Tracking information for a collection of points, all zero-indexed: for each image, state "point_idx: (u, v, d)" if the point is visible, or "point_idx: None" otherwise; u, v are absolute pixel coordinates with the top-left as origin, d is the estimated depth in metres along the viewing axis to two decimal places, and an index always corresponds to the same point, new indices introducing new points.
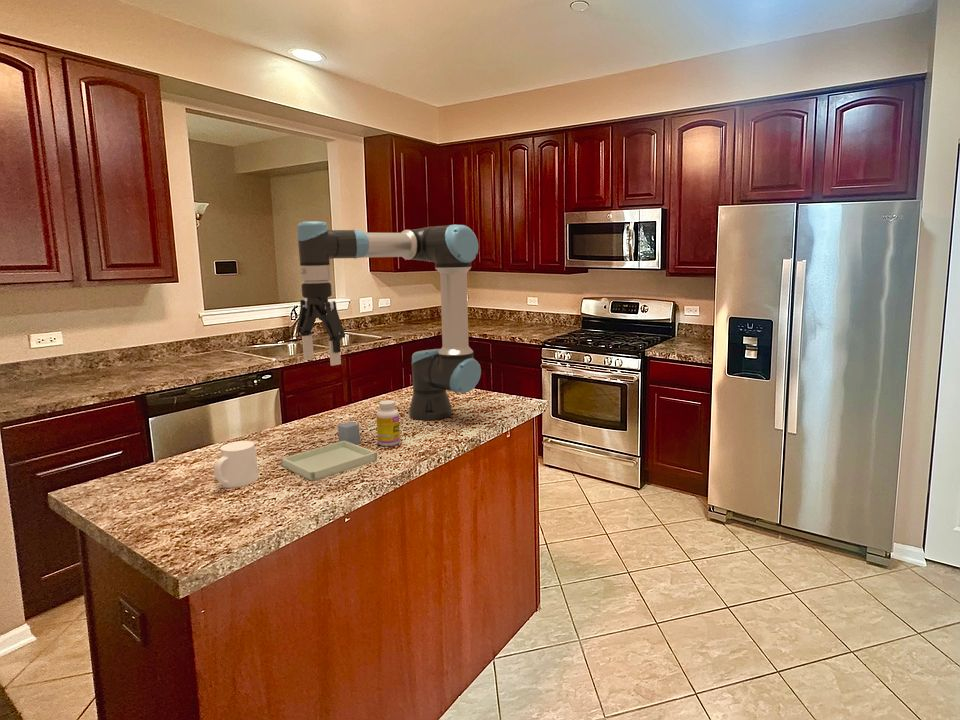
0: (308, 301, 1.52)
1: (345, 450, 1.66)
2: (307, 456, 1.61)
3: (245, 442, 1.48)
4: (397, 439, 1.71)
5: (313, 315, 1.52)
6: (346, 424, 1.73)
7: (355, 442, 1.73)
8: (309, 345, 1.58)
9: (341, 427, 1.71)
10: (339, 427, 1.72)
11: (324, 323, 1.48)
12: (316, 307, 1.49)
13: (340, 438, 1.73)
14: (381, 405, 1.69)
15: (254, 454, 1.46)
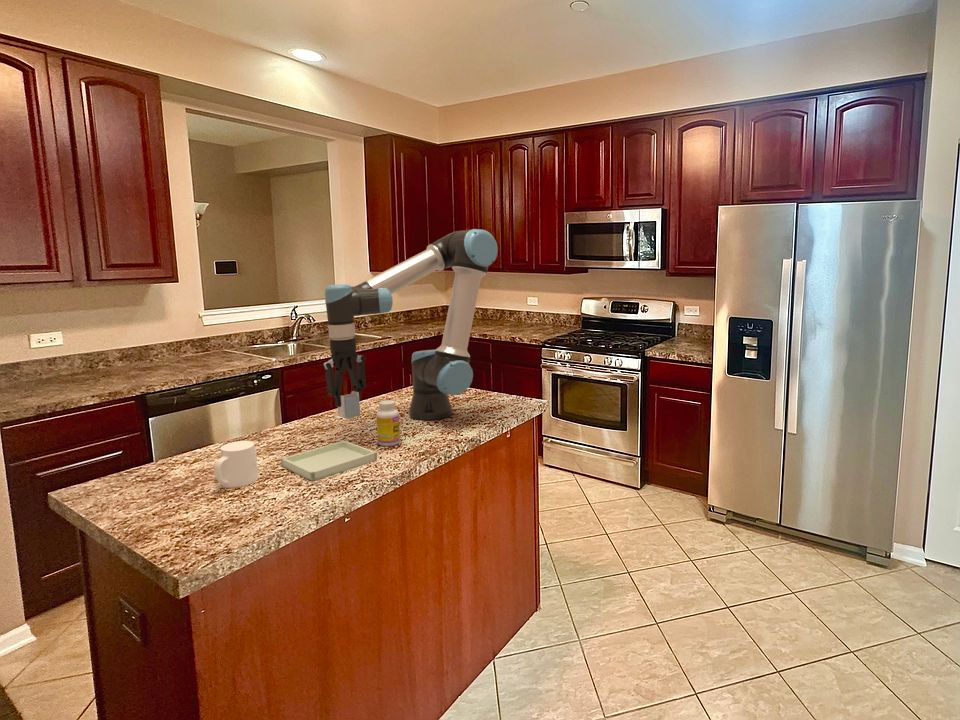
0: None
1: (345, 450, 1.66)
2: (307, 456, 1.61)
3: (245, 442, 1.48)
4: (397, 439, 1.71)
5: None
6: (346, 396, 1.71)
7: (355, 414, 1.71)
8: None
9: None
10: None
11: None
12: None
13: None
14: (381, 405, 1.69)
15: (254, 454, 1.46)
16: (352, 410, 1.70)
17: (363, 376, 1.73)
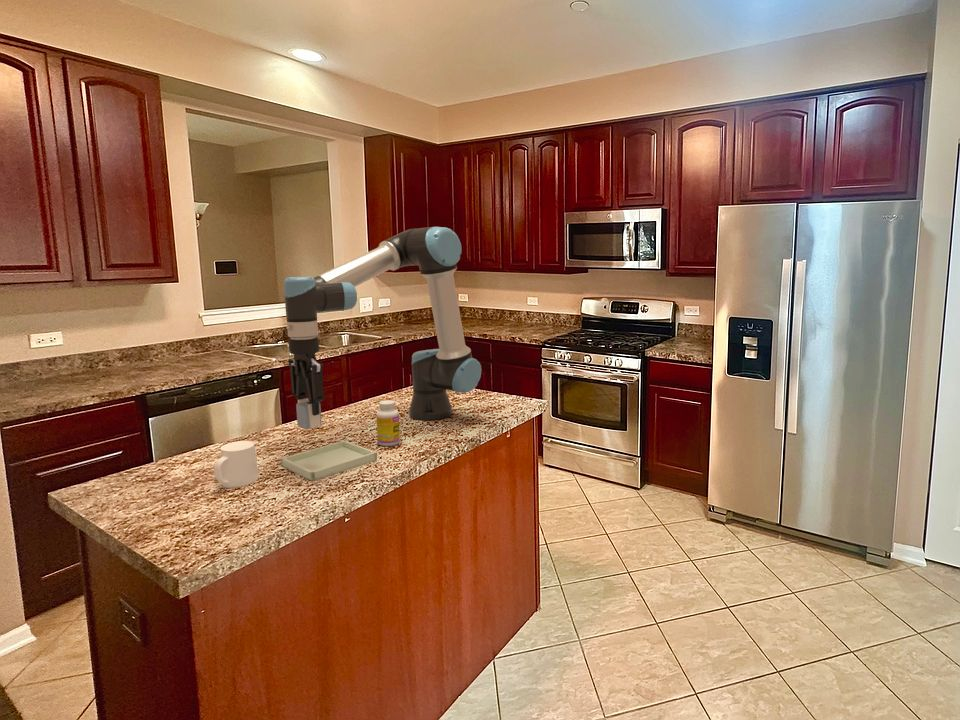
0: (294, 355, 1.50)
1: (345, 450, 1.66)
2: (307, 456, 1.61)
3: (245, 442, 1.48)
4: (397, 439, 1.71)
5: (300, 370, 1.49)
6: (307, 404, 1.50)
7: None
8: None
9: None
10: None
11: (307, 383, 1.47)
12: (303, 364, 1.46)
13: None
14: (381, 405, 1.69)
15: (254, 454, 1.46)
16: None
17: None
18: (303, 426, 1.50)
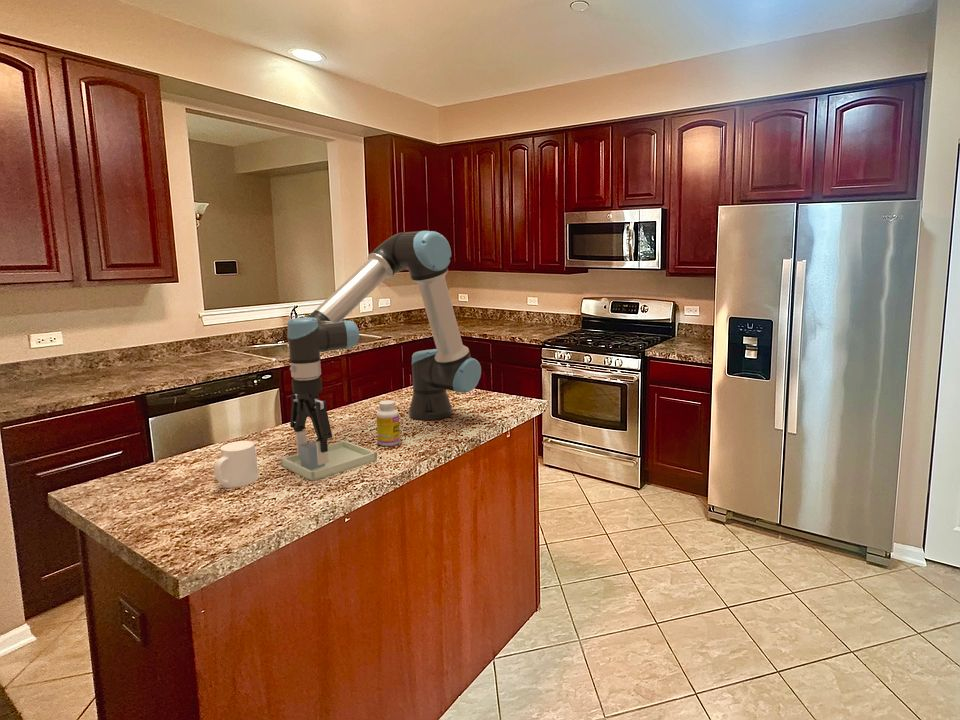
0: (298, 395, 1.52)
1: (345, 450, 1.66)
2: None
3: (245, 442, 1.48)
4: (397, 439, 1.71)
5: (303, 409, 1.51)
6: (311, 445, 1.52)
7: None
8: (303, 441, 1.57)
9: (315, 448, 1.51)
10: (311, 450, 1.51)
11: (313, 421, 1.48)
12: (306, 404, 1.48)
13: (312, 462, 1.51)
14: (381, 405, 1.69)
15: (254, 454, 1.46)
16: None
17: None
18: (307, 467, 1.52)
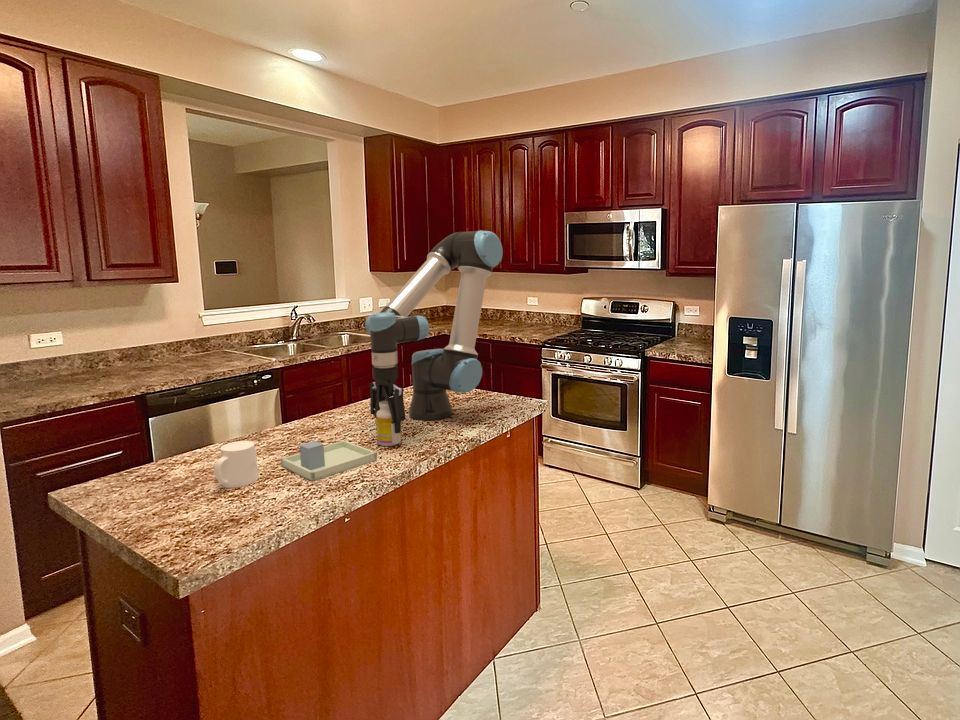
0: (376, 381, 1.71)
1: (345, 450, 1.66)
2: None
3: (245, 442, 1.48)
4: None
5: (382, 394, 1.70)
6: (311, 445, 1.52)
7: None
8: None
9: (315, 448, 1.51)
10: (311, 450, 1.51)
11: (389, 405, 1.68)
12: (385, 389, 1.68)
13: (312, 462, 1.51)
14: (381, 405, 1.69)
15: (254, 454, 1.46)
16: None
17: None
18: (307, 467, 1.52)
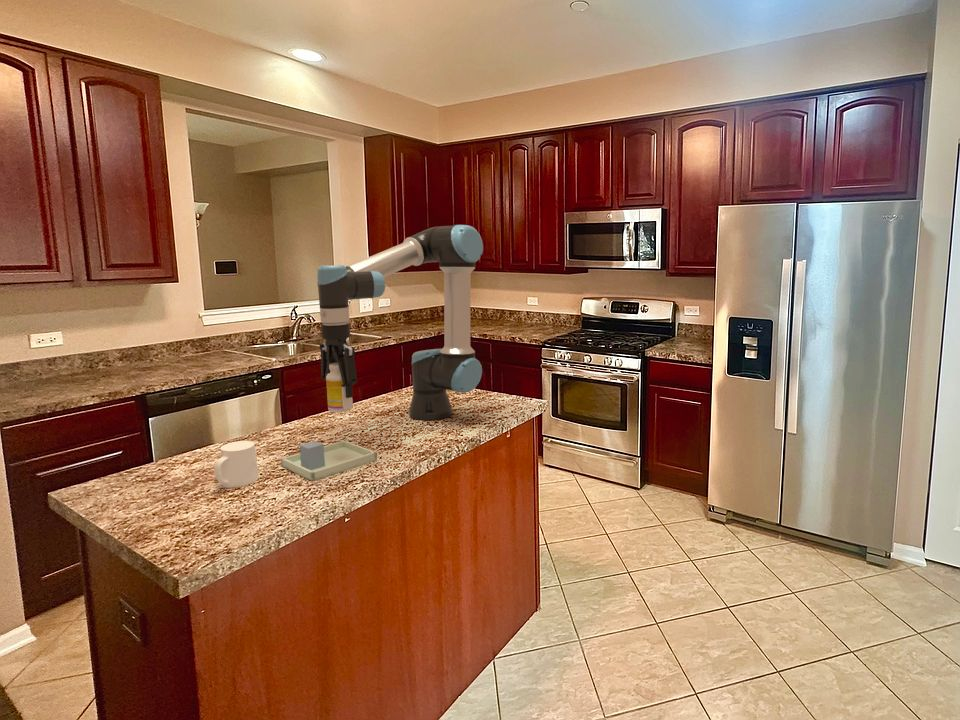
0: (326, 341, 1.56)
1: (345, 450, 1.66)
2: None
3: (245, 442, 1.48)
4: None
5: (332, 355, 1.55)
6: (311, 445, 1.52)
7: None
8: None
9: (315, 448, 1.51)
10: (311, 450, 1.51)
11: (340, 367, 1.53)
12: (335, 349, 1.53)
13: (312, 462, 1.51)
14: (331, 367, 1.54)
15: (254, 454, 1.46)
16: None
17: None
18: (307, 467, 1.52)
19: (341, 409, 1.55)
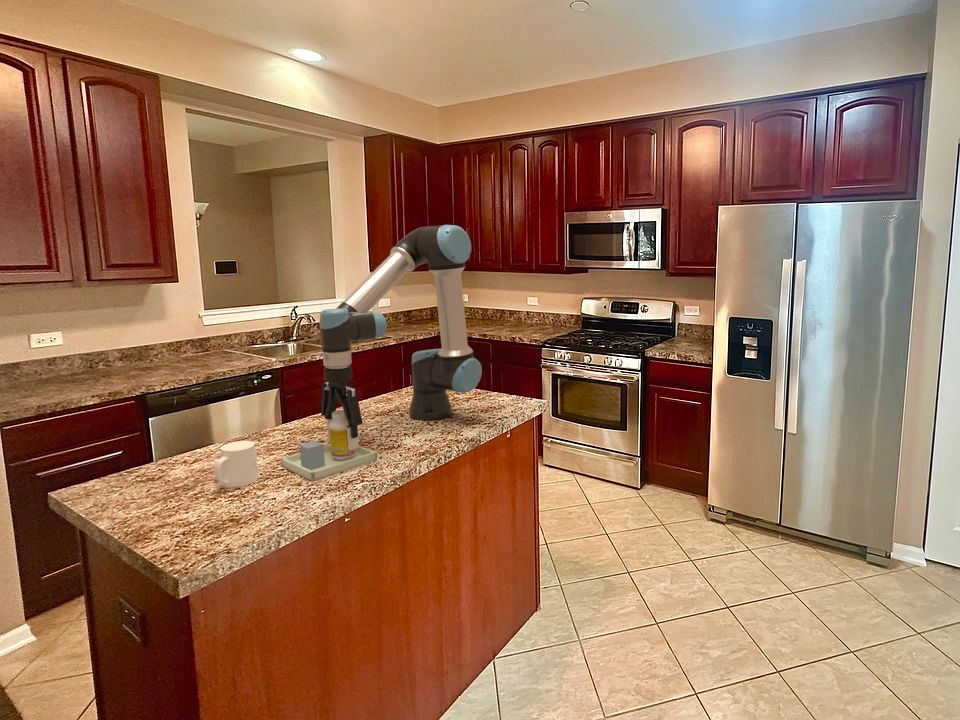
0: (329, 383, 1.58)
1: None
2: None
3: (245, 442, 1.48)
4: (352, 452, 1.59)
5: (334, 397, 1.57)
6: (311, 445, 1.52)
7: None
8: None
9: (315, 448, 1.51)
10: (311, 450, 1.51)
11: (344, 408, 1.55)
12: (338, 391, 1.55)
13: (312, 462, 1.51)
14: (334, 416, 1.56)
15: (254, 454, 1.46)
16: None
17: None
18: (307, 467, 1.52)
19: (344, 457, 1.57)
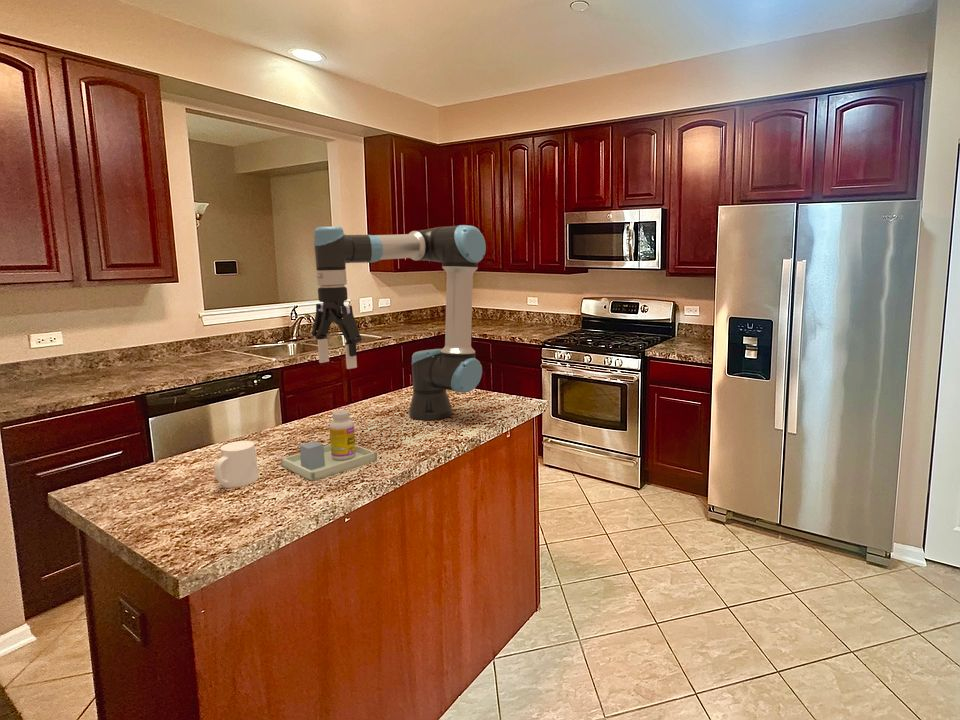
0: (324, 305, 1.54)
1: None
2: None
3: (245, 442, 1.48)
4: (352, 452, 1.59)
5: (329, 319, 1.53)
6: (311, 445, 1.52)
7: None
8: (324, 348, 1.60)
9: (315, 448, 1.51)
10: (311, 450, 1.51)
11: (340, 327, 1.50)
12: (332, 311, 1.51)
13: (312, 462, 1.51)
14: (334, 415, 1.57)
15: (254, 454, 1.46)
16: None
17: None
18: (307, 467, 1.52)
19: (344, 457, 1.58)
